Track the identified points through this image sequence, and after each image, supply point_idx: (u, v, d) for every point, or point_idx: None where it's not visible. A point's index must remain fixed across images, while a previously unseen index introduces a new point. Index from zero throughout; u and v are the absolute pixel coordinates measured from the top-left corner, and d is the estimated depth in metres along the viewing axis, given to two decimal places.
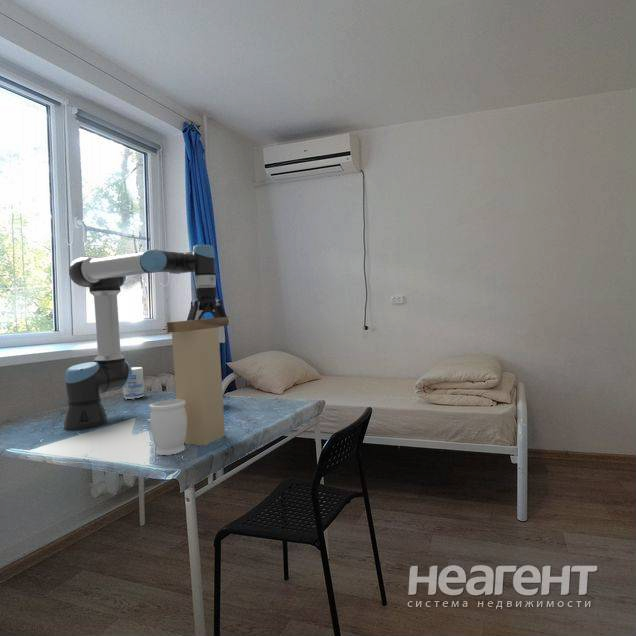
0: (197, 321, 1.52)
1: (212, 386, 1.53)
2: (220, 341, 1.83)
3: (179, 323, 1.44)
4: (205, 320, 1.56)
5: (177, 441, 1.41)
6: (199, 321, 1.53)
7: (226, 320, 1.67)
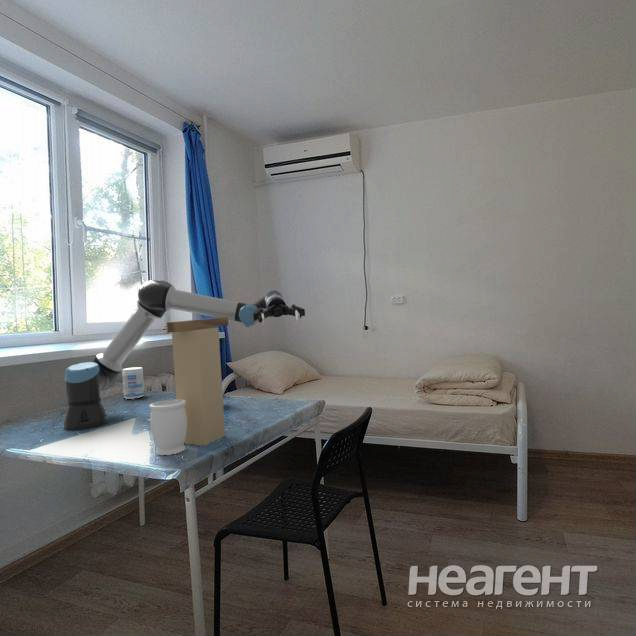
0: (197, 321, 1.52)
1: (212, 386, 1.53)
2: (297, 319, 1.69)
3: (179, 323, 1.44)
4: (205, 320, 1.56)
5: (177, 441, 1.41)
6: (199, 321, 1.53)
7: (226, 320, 1.67)
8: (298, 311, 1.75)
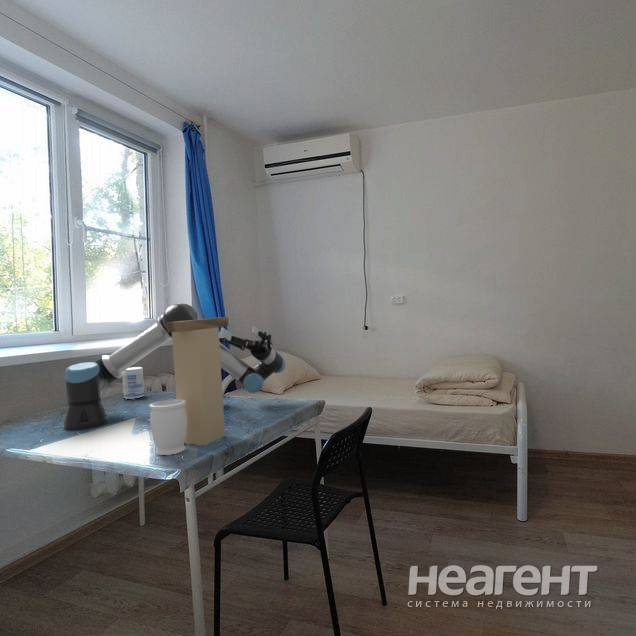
0: (197, 321, 1.52)
1: (212, 386, 1.53)
2: None
3: (179, 323, 1.44)
4: (205, 320, 1.56)
5: (177, 441, 1.41)
6: (199, 321, 1.53)
7: (226, 320, 1.67)
8: None
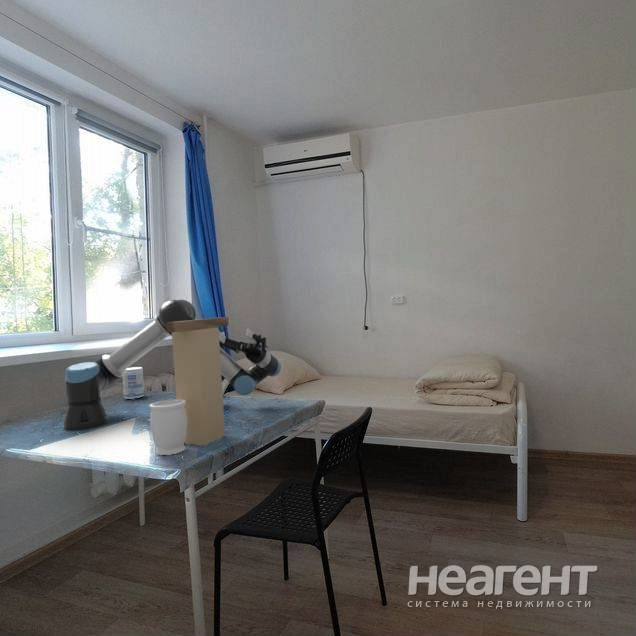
0: (197, 321, 1.52)
1: (212, 386, 1.53)
2: None
3: (179, 323, 1.44)
4: (205, 320, 1.56)
5: (177, 441, 1.41)
6: (199, 321, 1.53)
7: (226, 320, 1.67)
8: (258, 337, 1.76)
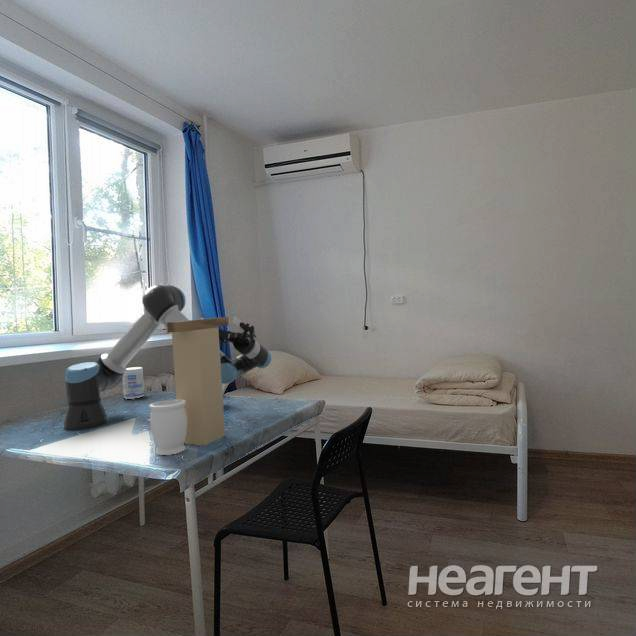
0: (197, 321, 1.52)
1: (212, 386, 1.53)
2: None
3: (179, 323, 1.44)
4: (205, 320, 1.56)
5: (177, 441, 1.41)
6: (199, 321, 1.53)
7: (226, 320, 1.67)
8: None
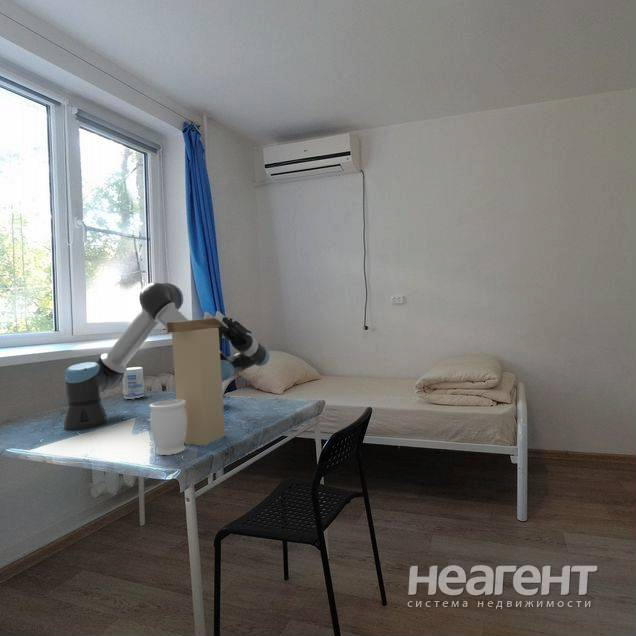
0: (197, 321, 1.52)
1: (212, 386, 1.53)
2: None
3: (179, 323, 1.44)
4: (205, 320, 1.56)
5: (177, 441, 1.41)
6: (199, 321, 1.53)
7: None
8: None
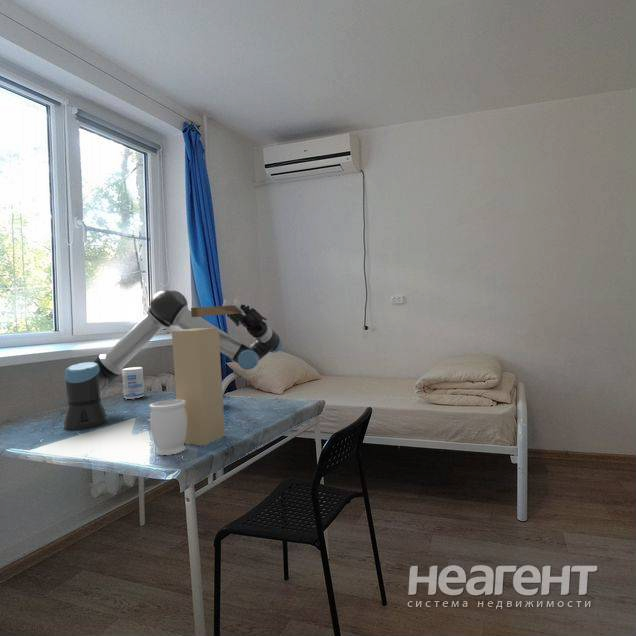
0: (218, 307, 1.63)
1: (212, 386, 1.53)
2: None
3: (202, 308, 1.55)
4: (225, 306, 1.67)
5: (177, 441, 1.41)
6: (220, 307, 1.64)
7: None
8: None
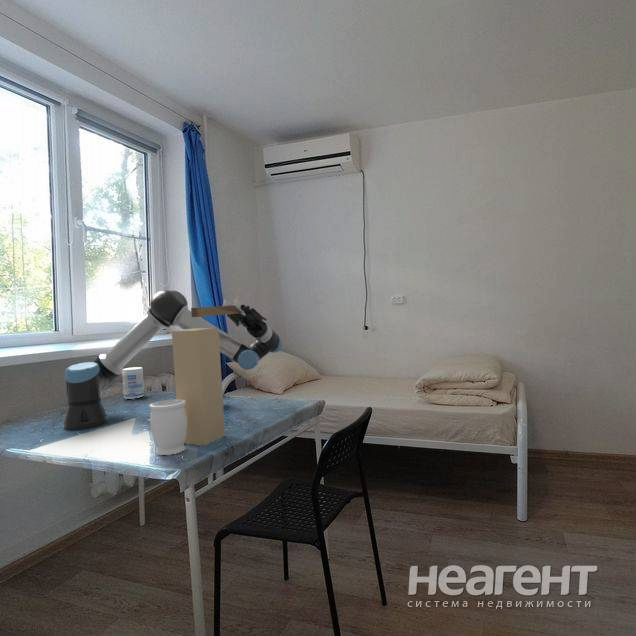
0: (218, 307, 1.63)
1: (212, 386, 1.53)
2: None
3: (202, 308, 1.55)
4: (225, 307, 1.67)
5: (177, 441, 1.41)
6: (220, 307, 1.64)
7: None
8: None
